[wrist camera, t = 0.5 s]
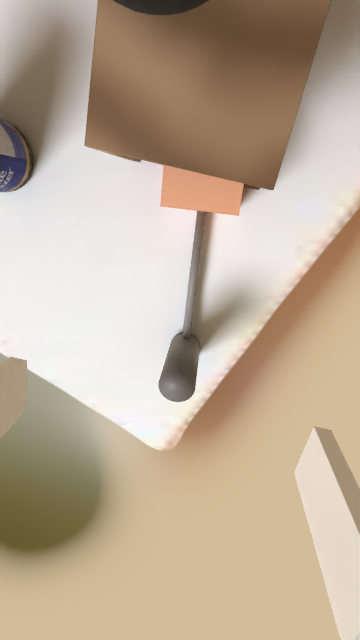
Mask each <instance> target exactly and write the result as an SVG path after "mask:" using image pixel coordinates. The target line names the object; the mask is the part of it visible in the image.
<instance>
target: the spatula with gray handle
mask: <svg viewBox="0 0 360 640" xmlns="http://www.w3.org/2000/svg"><path fill="white" fill-rule="evenodd" d="M243 186H244V184H243V183H239V182H235V181H230V180H226V179H222V178H217V177H213V176H209V175H205V174H200V173H196V172H192V171H188V170H183V169H179V168H175V167H171V166H166V165H164V169H163V181H162V194H161V206H162V207H171V208H179V209H187V210H196V211H197V218H196V227H195V235H194V243H193V251H192V260H191V268H190V276H189V285H188V293H187V301H186V310H185V318H184V326H183V333H180V334H178V335H176V336H175V337H174V338H173V339H172V341H171V344H170V348H169V351H168V354H167V357H166V360H165V364H164V367H163V370H162V373H161V377H160V380H159V390H160V392H161V394H162V395H163V396H164V397H165V398H167V399H168V400H171V401H174V402H182V401H185V400H188V399H189V398H190V397H191V396H192V395H193V394H194V391H195V385H196V376H197V368H198V359H199V351H200V344H199V341H198V339H197V338H196V337H195V336H194V335H192V334H190V332H191V325H192V317H193V309H194V302H195V294H196V286H197V279H198V271H199V263H200V255H201V248H202V240H203V232H204V225H205V217H206V212H212V213H221V214H229V215H237V216H239V210H240V204H241V198H242V192H243Z"/></svg>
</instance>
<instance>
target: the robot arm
mask: <svg viewBox="0 0 360 640" xmlns="http://www.w3.org/2000/svg"><path fill="white" fill-rule="evenodd" d="M26 375H27V361H26V360H22V359H17V358H13V357H10V358H9V359H7V360H6V361H5V362H4V363H3V364H1V365H0V438H1V437H2V436H3V435H4V434H5V433H6V432H7V431H8V429H9V428H10V427H11V426H12V425H13V424H14V422H16V420H17V419H18V418H19V417H20V416H21V415H22V413H24V411H25V409H26ZM294 474H295V478H296V481H297V485H298V488H299V492H300V496H301V499H302V502H303V507H304V510H305V513H306V517H307V521H308V525H309V528H310V531H311V535H312V539H313V542H314V546H315V550H316V553H317V557H318V560H319V564H320V567H321V571H322V574H323V578H324V582H325V585H326V589H327V593H328V596H329V600H330V603H331V607H332V610H333V614H334V617H335V621H336V625H337V628H338V632H339V635H340V639H341V640H360V489H359V486H358V484H357V482H356V480H355V478H354V476H353V474H352V472H351V470H350V468H349V466H348V464H347V462H346V460H345V458H344V456H343V454H342V452H341V450H340V447H339V445H338V443H337V441H336V439H335V437H334V435H333V433H332V431H331V430H328V429H323V428H319V427H314V428H313V430H312V432H311V435H310V437H309V439H308V442H307V444H306V446H305V449H304V451H303V453H302V456H301V458H300V461H299V463H298V465H297V467H296V470H295V472H294Z"/></svg>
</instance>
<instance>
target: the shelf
mask: <svg viewBox="0 0 360 640" xmlns="http://www.w3.org/2000/svg"><path fill="white" fill-rule="evenodd" d="M330 2H331V0H209V1H207V2H205V3H204V4H202V5H200V6H199V7H197V8H194V9H192V10H189V11H186V12H184V13H179V14H173V15H149V14H144V13H139V12H135V11H133V10H131V9H129V8H126V7H124V6H122V5H120V4H118V3H116V2H115V1H113V0H98V6H97V17H96V28H95V39H94V49H93V60H92V71H91V82H90V92H89V103H88V114H87V124H86V135H85V146H87V147H90V148H93V149H96V150H99V151H103V152H106V153H109V154H112V155H115V156H118V157H122V158H125V159H128V160H133V161H137V162H139V161H140V159H141V160H145V161H149V162H153V163H158V164H162V165H166V166H171V167H175V168H179V169H183V170H188V171H192V172H196V173H200V174H205V175H209V176H213V177H217V178H222V179H226V180H230V181H235V182H239V183H243V184H244V186H243V187H248V188H252V189H257V190H259V188H264V189H269V190H274V187H275V183H276V180H277V177H278V173H279V170H280V167H281V163H282V160H283V157H284V154H285V150H286V147H287V144H288V140H289V137H290V134H291V131H292V127H293V124H294V121H295V117H296V114H297V111H298V107H299V104H300V101H301V98H302V94H303V91H304V88H305V84H306V81H307V78H308V75H309V71H310V68H311V65H312V61H313V58H314V55H315V51H316V48H317V45H318V42H319V38H320V35H321V32H322V28H323V25H324V22H325V19H326V15H327V12H328V9H329V5H330Z"/></svg>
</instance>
